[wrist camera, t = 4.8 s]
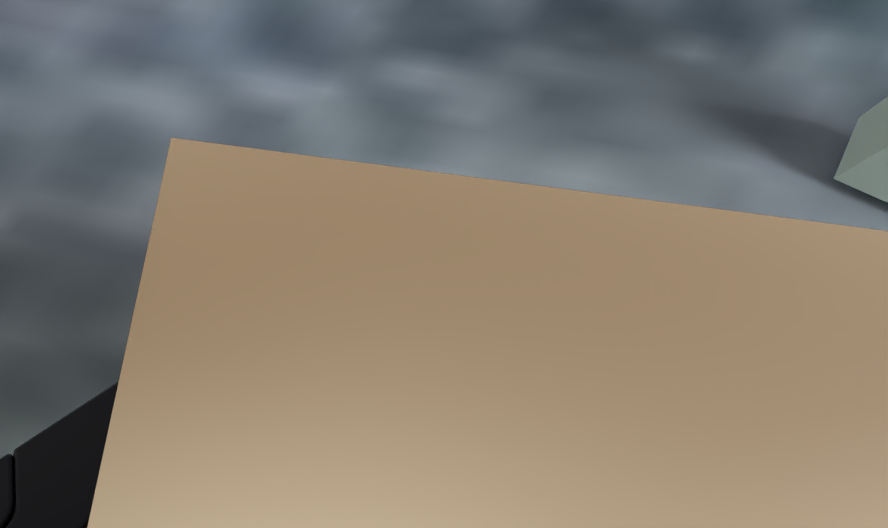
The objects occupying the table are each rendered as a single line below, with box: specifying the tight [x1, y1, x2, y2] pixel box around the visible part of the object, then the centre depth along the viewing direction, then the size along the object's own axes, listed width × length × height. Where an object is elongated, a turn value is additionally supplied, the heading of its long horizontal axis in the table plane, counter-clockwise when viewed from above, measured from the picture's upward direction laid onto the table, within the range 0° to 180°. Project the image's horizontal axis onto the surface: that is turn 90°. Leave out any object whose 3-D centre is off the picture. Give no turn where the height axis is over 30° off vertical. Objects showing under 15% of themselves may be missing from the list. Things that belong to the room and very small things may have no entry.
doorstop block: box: [87, 138, 888, 528], centre depth 10 cm, size 4×5×11 cm
